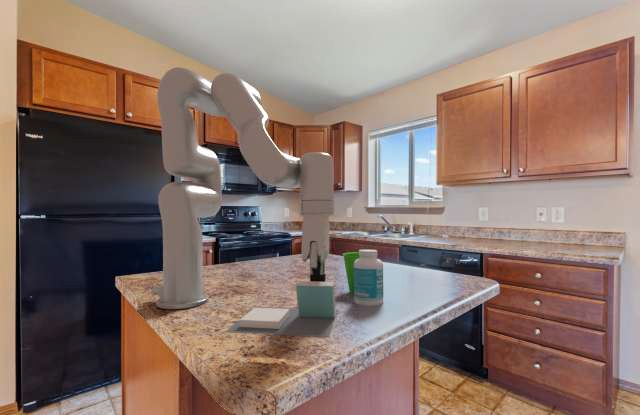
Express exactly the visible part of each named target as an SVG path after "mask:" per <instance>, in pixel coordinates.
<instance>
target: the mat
mask: <svg viewBox="0 0 640 415" xmlns="http://www.w3.org/2000/svg"><path fill="white" fill-rule="evenodd" d="M254 308H278V309H290V316H289V317H288V318H287V319H286V321H285V322H284V323H283V325H282V326H281V327H280V328H279V329H258V328H241V327H240V319H239V320H238V321H237V322H235V323H234V324H233V325H232V326H230V327H229V328H228V329H227V330H226V331H225V333H238V334H239V333H240V334H257V335H258V334H259V335H275V336H293V337H298V336H299V337H315V338H330V335H331V332H332V330H333V327H334V323H335V320H336V317H337V315H338V312H339V309H336V317H335V318H324V317H301V316H299V313H298V307H296V308H294V307H273V306H270V307H269V306H255V307H254ZM254 308H252V309H254ZM248 313H249V312H247V313H246V314H248Z"/></svg>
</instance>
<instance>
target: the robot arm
mask: <svg viewBox="0 0 640 415" xmlns="http://www.w3.org/2000/svg"><path fill="white" fill-rule="evenodd" d="M156 94H157V95H156V100H157V107H158V113H159V119H160V123H161V124H160V125H161V146H162V148H161V149H162V160H163V167H164V170H165V171H166V172H167V173H168V174H169V175H170V176H174V177H178V178H183V179H191V180H192V182H189V181H188V182H187V181H172V182H170V183H167V184H166V185H165V186H163V187H162V189H161V190H160V191H159V194H158V200H157V201H158V209H159V213H160V218H161V224H162V226H161V227H162V261H163V262H162V277H163V278H162V285H154V286H153V287H152V289H151V290H150V295H155V296H156V295H158V296H159V298H158V299H157V300H156V302H155V303H156V304H155V305H156V307H158V308H160V309H164V310H181V309H188V308H193V307H194V308H195V307H197V306H201V305H203V304H206V303H207V302H208V301H209V299H210V295H209V294H208V293H206V292H204V290H203V289H204V288H203V286H204V284H203V282H204V281H203V280H204V276H203V272H204V270H203V269H204V268H203V266H204V265H203V261H204V260H203V258H204V257H203V231H202V227H201V224H200V223H199V222H200V221H199V220H198V218H199V219H201V218H202V219H204V218H211V217H213V216H215V215H216V214H218V212H219V211H220V209H221V208H222V204H223V203H222V202H223V192H222V174H221V171H222V170H221V164H220V160H219V158H218V156H217V155H216V153H215V151H213V150H211V149H209V148H207V147H205V146H201V145H200V144H199V143H198V138H197V137H198V135H197V132H198V130H197V125H196V122H195V120H194V116H193V115H192V113H191V111H190V108H193V109H194V110H198V111H200V112H202V113H204V114H207V115H209V116H213V117H219V118H226V119H227V121H228V122H229V123H230V125H231V126H232V128H233V129H234V130H235V132H236V134H237V140H238V148H239V150H240V153H241V155H242V158H243V159H244V160H245V161H246V163H247V165H248V166H249V168H250V169H251V171H252V172H253V173H254V174H255V176H256V177H257V178H258V179H259V180H260V181H261V182H262V183H264V184H265V185H267V186H271V187H278V188H282V189H289V190H290V189H297V188H299V213H300V214H299V216H300V217H302V218H303V219H302V228H301V229H302V231H301V253H300V254H301V262H303V263H305V262H307V261H309V270H310V271H309V273H310V274H309V281H315V282H326V272H325V271H326V260H327V259H328V257H329V254H330V216H335V206H334V205H335V204H334V203H335V201H334V200H335V199H334V198H335V197H334V196H335V195H334V191H335V190H334V188H335V186H334V184H335V183H334V159H333V156H332V155H331V154H329V153H326V152H308V153H307V152H306V153H304V154H303V155H301V156H300V157H295V156H292V155H289V154H288V153H284V152H282V151H281V150H280V149H279V148H278V146H277V145H276V143H274V140H272V139H271V136H270V135H269V134H268V132H267V130H266V129H267V128H268V126H269V123H270V118H269V116H268V114H267V113H266V111H265V110H264V109H263V107H262V98H261V96H260V93H259V92H258V90H257V89H255V88H254V87H253V86H252V85H250V83H247V82H246V81H245V80H243V79H242V78H241V77H239V76H237V75H235V74H232V73H228V72H225V73H224V72H223V73H220V74H218V75H216V76H215V77H214V78H213V80H212V81H211V80H209V79H208V78H206V77H204V76H202V75H201V74H199V73H197V72H195V71H193V70H191V69H188V68H185V67H173V68H171V69H169V70H167V71H166V72H165V73H164V75H162V77H161V79H160V81H159V84H158V87H157V93H156Z"/></svg>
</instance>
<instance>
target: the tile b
mask: <svg viewBox="0 0 640 415" xmlns="http://www.w3.org/2000/svg"><path fill="white" fill-rule="evenodd" d="M335 292H336V291H335V281H325V282H315V281H310V280H309V281H307V280H306V281H305V280H297V281H296V282H295V293H296V294H295V295H296V302H297V308H298V313H299V316H301V317H324V318H335V317H337V315H336V310H337V308H336V306H337V305H336V294H335ZM335 319H336V318H335Z"/></svg>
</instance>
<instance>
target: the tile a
mask: <svg viewBox="0 0 640 415" xmlns="http://www.w3.org/2000/svg"><path fill="white" fill-rule="evenodd" d="M278 308H279V307H276V308H255V307H254V309H253V308H252V309H251V310H250V311H249V312H247V313H248V314H247V313H246V314H245V315H244V316H243V317H242V318H241V317H240V319H239V320H240V327H241V328H258V329H279V328H280V327H281V326H282V325H283V323H284V322H285V321H286V319H287V318H288V317H289V316H290V309H278Z"/></svg>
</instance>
